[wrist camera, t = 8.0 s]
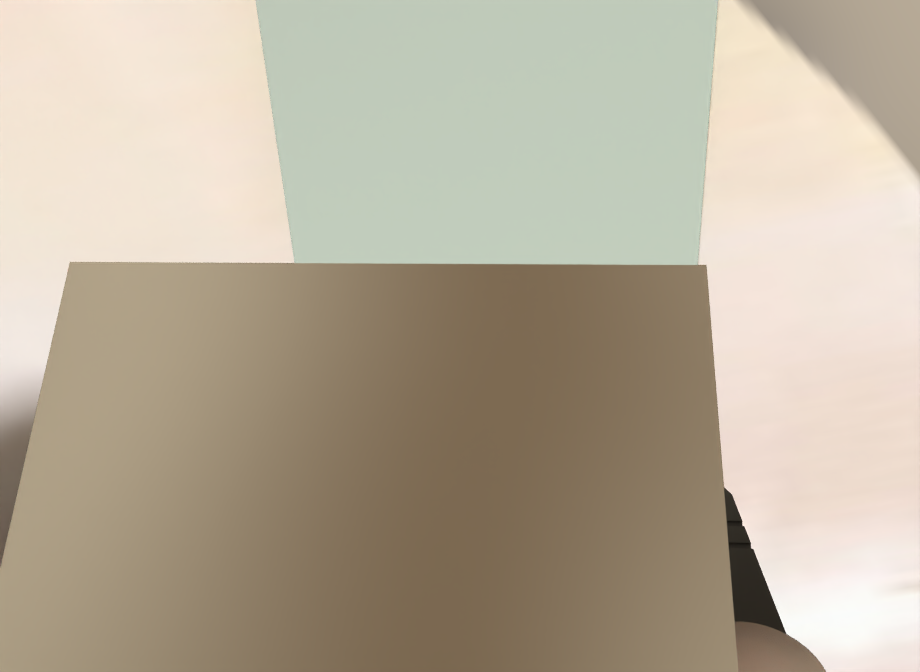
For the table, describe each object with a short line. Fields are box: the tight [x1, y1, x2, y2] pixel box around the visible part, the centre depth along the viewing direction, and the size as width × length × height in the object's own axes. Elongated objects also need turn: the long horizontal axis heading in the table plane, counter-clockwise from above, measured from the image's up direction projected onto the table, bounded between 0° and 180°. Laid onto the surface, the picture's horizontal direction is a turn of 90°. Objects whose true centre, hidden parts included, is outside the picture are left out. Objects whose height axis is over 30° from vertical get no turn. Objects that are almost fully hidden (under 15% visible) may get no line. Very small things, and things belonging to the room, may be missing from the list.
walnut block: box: [0, 262, 738, 672], centre depth 10 cm, size 5×5×11 cm
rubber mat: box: [256, 0, 718, 265], centre depth 25 cm, size 14×20×1 cm
